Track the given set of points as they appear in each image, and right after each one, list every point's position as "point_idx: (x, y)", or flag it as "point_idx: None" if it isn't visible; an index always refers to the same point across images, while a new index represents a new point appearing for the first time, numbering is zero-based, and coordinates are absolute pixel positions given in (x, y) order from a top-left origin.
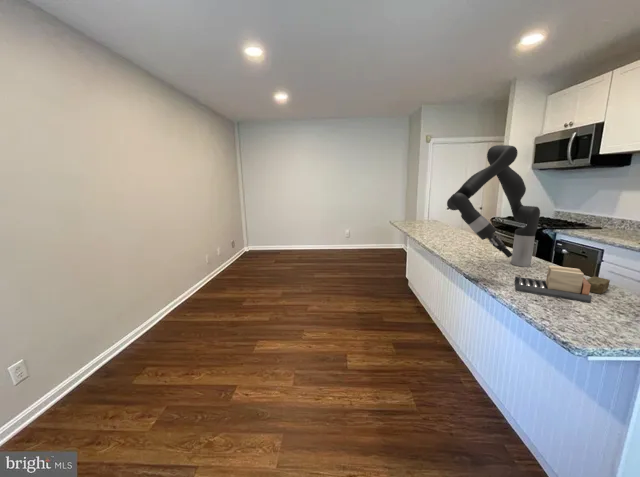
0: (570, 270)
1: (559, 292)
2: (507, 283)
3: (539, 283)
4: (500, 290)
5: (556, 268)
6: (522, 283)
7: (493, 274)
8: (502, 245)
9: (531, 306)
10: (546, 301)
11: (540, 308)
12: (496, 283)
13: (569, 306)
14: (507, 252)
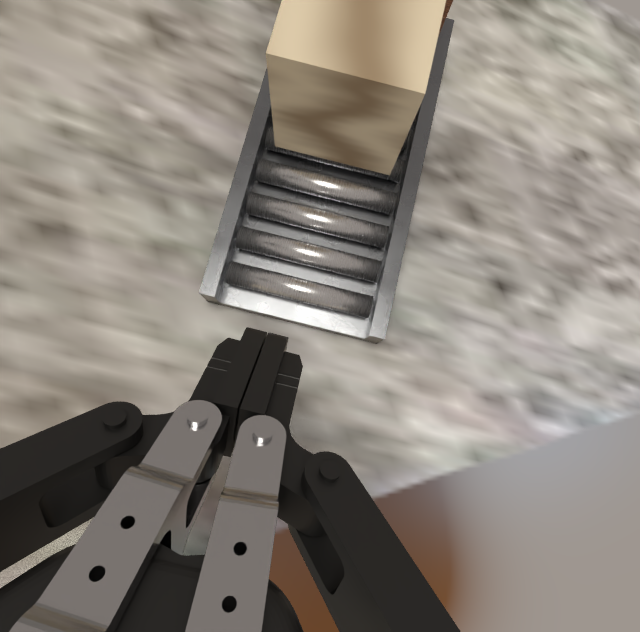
0: None
1: (427, 141)
2: None
3: (280, 182)
4: (403, 435)
5: (353, 35)
6: (329, 289)
7: (56, 397)
8: (374, 538)
9: (598, 336)
10: (496, 238)
11: (607, 302)
12: None
13: (524, 160)
14: (292, 401)
